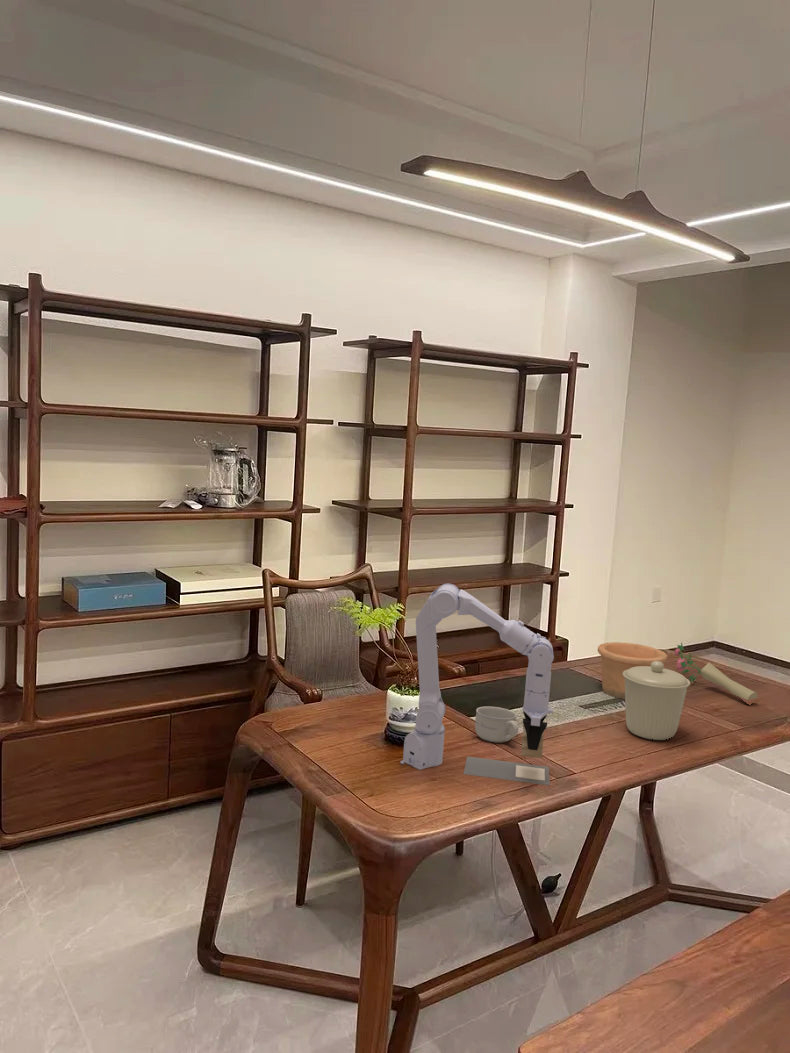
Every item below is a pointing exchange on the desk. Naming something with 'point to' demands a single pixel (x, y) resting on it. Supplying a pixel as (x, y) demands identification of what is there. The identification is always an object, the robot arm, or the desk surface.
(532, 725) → the robot arm
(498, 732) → the teacup
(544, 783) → the board
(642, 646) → the pottery
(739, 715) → the desk surface
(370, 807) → the desk surface
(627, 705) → the canister
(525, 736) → the tan u-shaped block
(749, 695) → the flower vase
